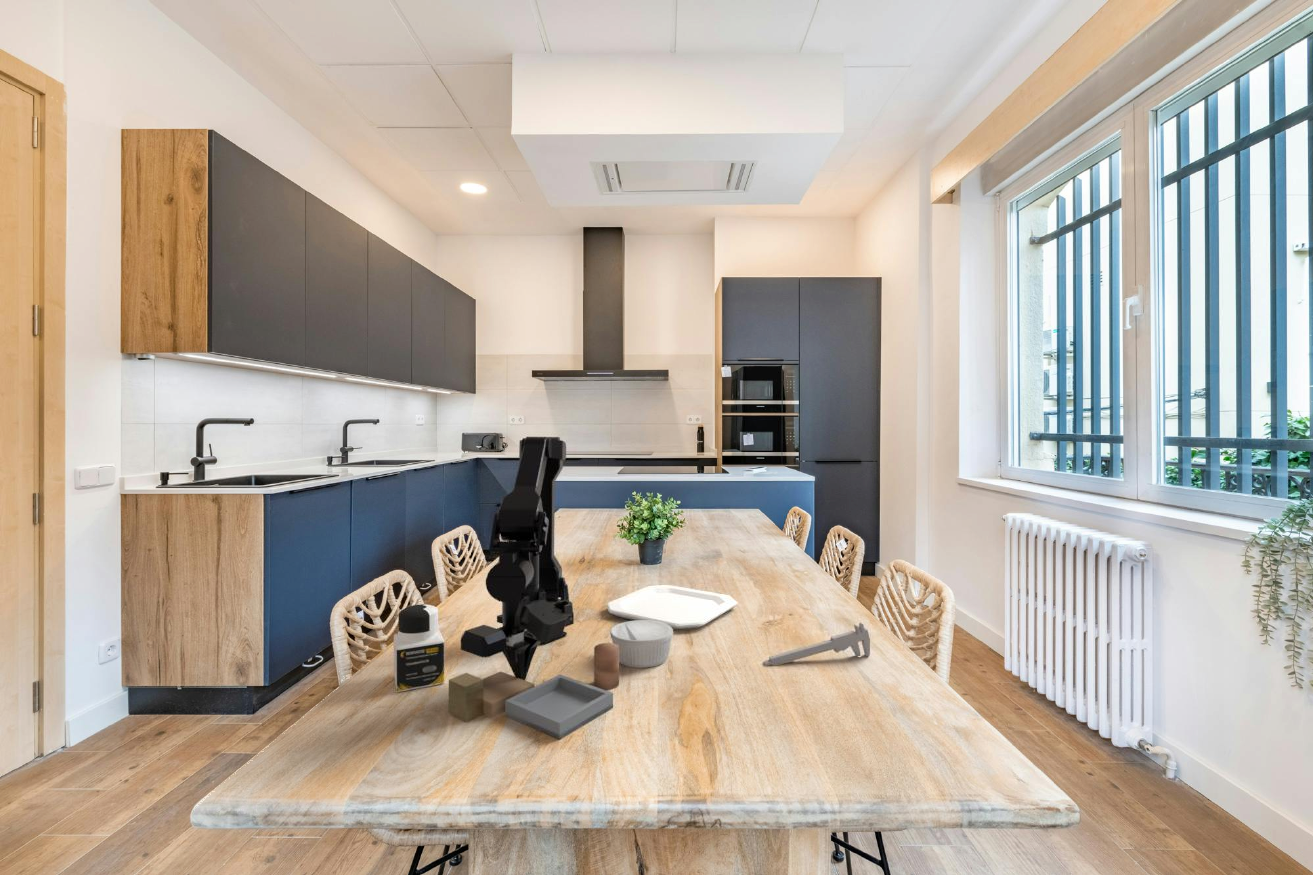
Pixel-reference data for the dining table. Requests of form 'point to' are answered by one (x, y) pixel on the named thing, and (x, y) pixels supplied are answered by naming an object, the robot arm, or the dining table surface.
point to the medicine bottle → (418, 649)
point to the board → (501, 692)
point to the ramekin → (642, 642)
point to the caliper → (827, 646)
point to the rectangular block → (466, 697)
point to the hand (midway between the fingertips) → (521, 680)
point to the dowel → (606, 666)
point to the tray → (559, 705)
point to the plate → (672, 606)
